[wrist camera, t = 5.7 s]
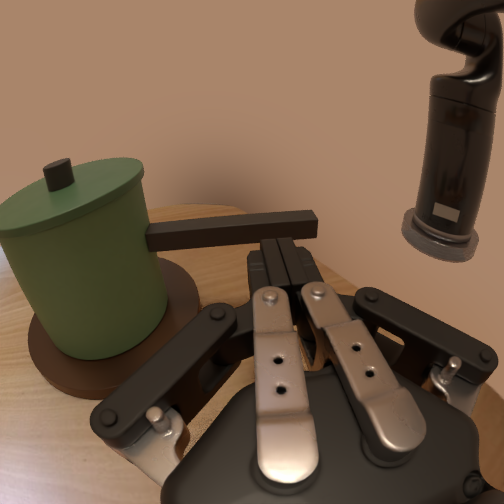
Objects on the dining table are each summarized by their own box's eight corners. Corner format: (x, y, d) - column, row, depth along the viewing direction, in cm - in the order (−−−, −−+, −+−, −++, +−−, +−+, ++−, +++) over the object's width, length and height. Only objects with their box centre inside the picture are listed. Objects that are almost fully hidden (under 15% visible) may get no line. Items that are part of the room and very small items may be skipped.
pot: (28, 358, 16) (-49, 217, 10) (73, 270, 26) (37, 157, 19) (329, 349, 18) (360, 155, 11) (293, 252, 27) (295, 118, 21)
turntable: (160, 247, 32) (158, 238, 31) (240, 339, 20) (239, 328, 20) (32, 299, 24) (28, 290, 23) (45, 428, 13) (36, 419, 12)
